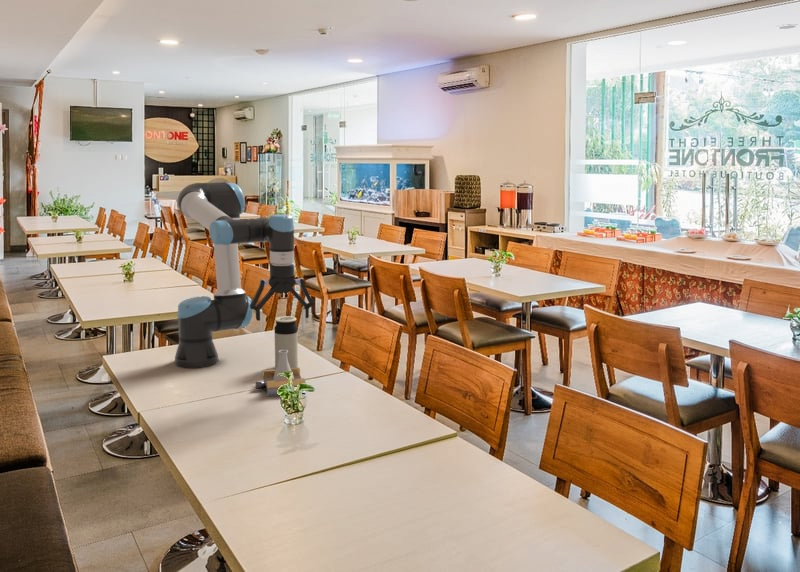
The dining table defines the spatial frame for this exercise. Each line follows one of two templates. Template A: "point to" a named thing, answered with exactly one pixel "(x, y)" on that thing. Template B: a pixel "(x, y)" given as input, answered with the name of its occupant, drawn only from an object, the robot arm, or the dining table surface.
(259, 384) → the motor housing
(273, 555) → the dining table surface
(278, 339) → the travel mug
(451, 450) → the dining table surface
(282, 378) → the flask
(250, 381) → the dining table surface
